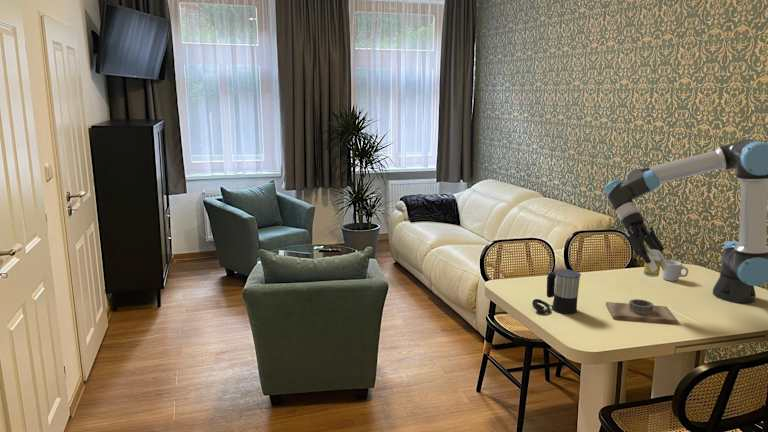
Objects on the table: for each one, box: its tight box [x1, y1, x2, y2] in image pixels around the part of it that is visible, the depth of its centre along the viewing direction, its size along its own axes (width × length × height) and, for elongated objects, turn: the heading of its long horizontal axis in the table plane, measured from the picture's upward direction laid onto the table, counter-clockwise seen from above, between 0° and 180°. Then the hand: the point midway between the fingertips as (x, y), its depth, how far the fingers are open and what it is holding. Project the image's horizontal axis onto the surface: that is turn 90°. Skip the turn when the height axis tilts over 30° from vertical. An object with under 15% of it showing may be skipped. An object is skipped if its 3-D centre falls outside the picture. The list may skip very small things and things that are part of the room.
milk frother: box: [531, 268, 582, 315], centre depth 219 cm, size 14×16×15 cm
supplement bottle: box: [643, 248, 661, 278], centre depth 217 cm, size 5×5×10 cm
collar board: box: [605, 298, 679, 325], centre depth 218 cm, size 22×14×4 cm, turn 80°
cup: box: [661, 259, 689, 282], centre depth 259 cm, size 11×8×8 cm
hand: (660, 269), depth 214 cm, fingers closed on supplement bottle, 5 cm apart
